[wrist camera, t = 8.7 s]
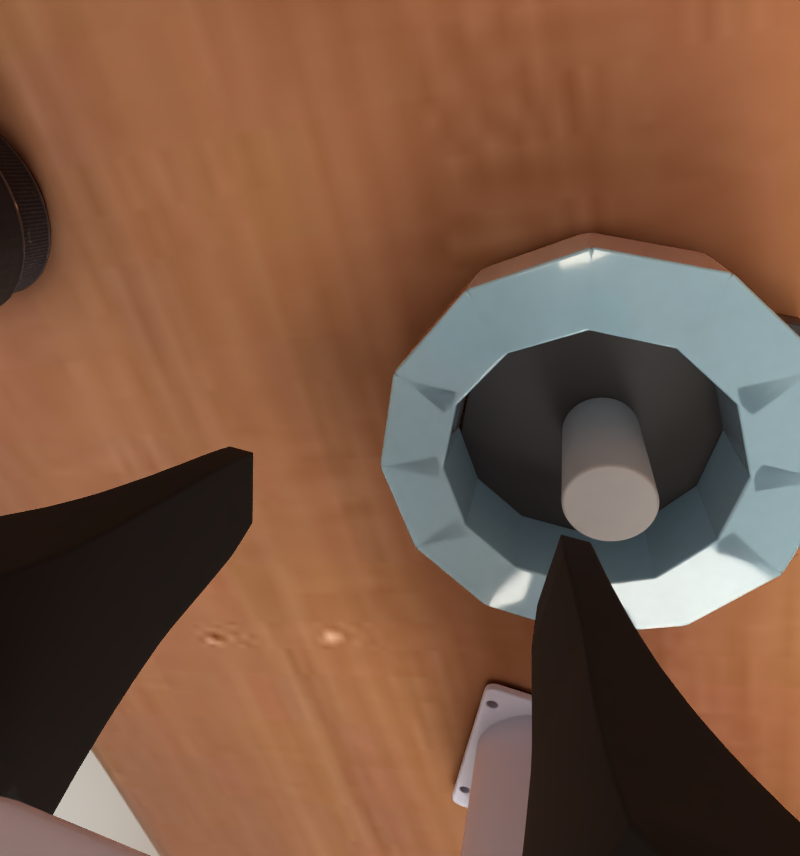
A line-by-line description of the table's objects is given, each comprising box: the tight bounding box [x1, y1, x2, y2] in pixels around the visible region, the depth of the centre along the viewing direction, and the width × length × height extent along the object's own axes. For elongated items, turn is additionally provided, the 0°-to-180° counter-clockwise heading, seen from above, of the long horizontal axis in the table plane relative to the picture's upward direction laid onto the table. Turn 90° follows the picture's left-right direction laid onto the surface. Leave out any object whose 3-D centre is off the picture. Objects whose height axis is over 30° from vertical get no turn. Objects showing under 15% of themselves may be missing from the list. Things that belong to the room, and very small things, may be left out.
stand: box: [461, 314, 800, 541], centre depth 17 cm, size 9×9×6 cm
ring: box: [381, 232, 800, 630], centre depth 17 cm, size 12×12×3 cm
